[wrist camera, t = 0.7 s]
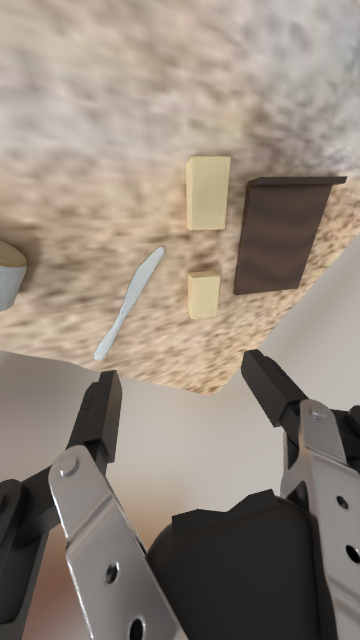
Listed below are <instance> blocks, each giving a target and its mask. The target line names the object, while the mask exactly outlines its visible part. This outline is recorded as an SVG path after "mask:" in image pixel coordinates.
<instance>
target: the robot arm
mask: <svg viewBox="0 0 360 640" xmlns="http://www.w3.org/2000/svg"><path fill="white" fill-rule="evenodd" d="M241 373H242V376H243V378H244V379H245V381H246V383H247V384H248V386H249V388H250V389H251V391H252V392H253V394H254V396H255V397H256V399H257V400H258V402H259V404H260V405H261V407H262V409H263V410H264V412H265V414H266V415H267V417H268V418H269V420H270V422H271V423H272V425H273V427H280V426H282V427H283V429H284V430H285V431H284V472H283V478H282V481H281V488H280V497H278V496H275V495H274V493H273V490H272V489H269V490H266V491H262V492H258V493H254V494H251V495H248V496H247V497H246V498H244V499H243V500H242V501H241V502H239V503H238V504H237V505H236V506H234V507H233V508H232V509H231V510H229V511H228V512H219V511H210V510H202V509H196V510H193V511H189V512H185V513H182V514H178V515H175V516H172V523H171V524H169V525H168V526H167V527H166V528H165V529H164V530H163V531H162V532H161V533H160V534H159V535H158V537H157V538H156V539H155V540H154V542H153V544H152V545H151V547H150V549H149V551H147V550H146V548H145V546H144V544H143V542H142V541H141V539H140V537H139V535H138V533H137V532H136V530H135V528H134V526H133V525H132V523H131V522H130V520H129V518H128V516H127V514H126V513H125V511H124V509H123V507H122V506H121V504H120V502H119V500H118V498H117V496H116V495H115V493H114V491H113V489H112V488H111V486H110V484H109V482H108V480H107V478H106V476H105V475H106V468H107V464H108V463H112V462H114V460H115V451H116V443H117V435H118V426H119V418H120V409H121V401H122V387H121V383H120V380H119V377H118V374H117V371H116V370H110V371H103V372H101V375H100V378H99V382H94V383H92V384H91V385H90V386H89V388H88V389H87V390H86V392H85V395H84V398H83V401H82V404H81V407H80V411H79V413H78V416H77V419H76V422H75V425H74V428H73V431H72V434H71V437H70V440H69V443H68V445H67V447H66V449H65V451H64V452H62V453H61V454H60V455H59V457H57V459H56V460H55V461H54V463H53V464H52V465H51V466H49V467H48V468H46V469H44V470H42V471H41V472H39V473H37V474H35V475H33V476H31V477H30V478H28V479H26V480H24V481H22V482H19V481H18V480H15V479H10V480H6V481H3V482H1V483H0V640H21V639H22V635H23V631H24V627H25V623H26V619H27V616H28V612H29V608H30V604H31V600H32V596H33V592H34V588H35V585H36V581H37V577H38V573H39V569H40V565H41V561H42V558H43V554H44V550H45V546H46V542H47V538H48V535H49V531H50V530H51V529H52V528H54V527H55V526H57V525H58V524H60V523H62V526H63V529H64V532H65V535H66V539H67V546H66V558H67V563H68V566H69V570H70V573H71V576H72V580H73V583H74V586H75V590H76V593H77V596H78V600H79V603H80V606H81V610H82V613H83V616H84V620H85V623H86V626H87V629H88V633H89V636H90V640H360V406H358V405H356V406H353V407H352V408H351V409H350V410H349V412H348V411H341V410H333V409H329V408H328V407H326V406H325V405H324V404H322V403H320V402H318V401H316V400H312V399H309V398H308V397H307V396H306V395H305V394H304V393H303V392H302V391H301V389H299V387H298V386H297V385H296V384H295V383H294V382H293V381H292V380H291V379H290V377H289V376H288V375H286V373H285V372H284V371H283V370H282V369H281V367H280V366H279V365H278V364H277V363H276V362H275V361H274V360H272V359H271V358H269V357H267V356H264V355H263V354H262V353H261V352H260V351H259V350H258V349H255V350H249V351H245V352H244V356H243V361H242V365H241Z"/></svg>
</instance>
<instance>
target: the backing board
mask: <svg viewBox="0 0 360 640" xmlns="http://www.w3.org/2000/svg"><path fill="white" fill-rule="evenodd" d="M346 179H347V176H345V177H259V178H257V179H254V180H251V181H249V182H248V185H247V192H246V200H245V207H244V215H243V222H242V230H241V238H240V245H239V253H238V260H237V268H236V275H235V283H234V290H233V293H234V294H235V295H241V294H250V293H260V292H269V291H278V290H288V289H297V288H298V287H299V284H300V281H301V278H302V275H303V272H304V269H305V266H306V263H307V260H308V257H309V254H310V251H311V248H312V245H313V242H314V239H315V236H316V233H317V230H318V227H319V224H320V221H321V218H322V215H323V212H324V209H325V206H326V203H327V200H328V197H329V194H330V191H331V188H332V185H338V184H344V183H345V182H346Z"/></svg>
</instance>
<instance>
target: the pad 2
mask: <svg viewBox="0 0 360 640" xmlns="http://www.w3.org/2000/svg"><path fill="white" fill-rule="evenodd" d="M219 287H220V275H219V274H217V273H216V272H215V271H202V272H190V273H188V312H189V314H190V316H191V318H192V319H200V318H208V317H216V316H217V310H218V299H219Z"/></svg>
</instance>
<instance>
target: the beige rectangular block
mask: <svg viewBox="0 0 360 640" xmlns="http://www.w3.org/2000/svg"><path fill="white" fill-rule="evenodd" d="M230 161H231V157H223V156H192V157H191V159H190V160H189V161H188V162H187V164H186V191H187V229H188V230H192V231H195V230H214V229H225V218H226V207H227V196H228V184H229V173H230Z"/></svg>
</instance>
